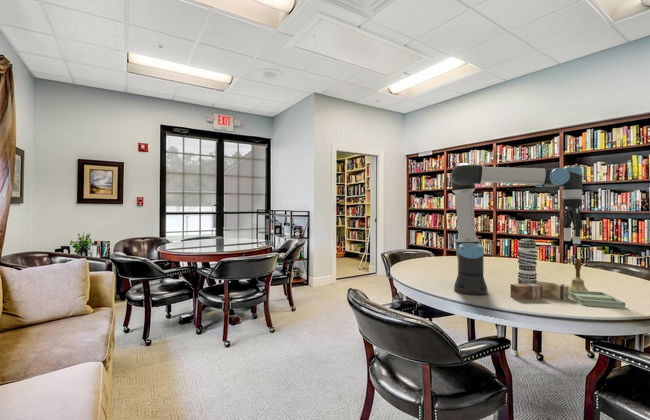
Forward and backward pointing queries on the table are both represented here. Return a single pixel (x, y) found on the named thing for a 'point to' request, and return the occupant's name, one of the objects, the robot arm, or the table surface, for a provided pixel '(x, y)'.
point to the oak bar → (554, 290)
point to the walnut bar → (526, 291)
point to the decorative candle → (527, 261)
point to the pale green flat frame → (595, 299)
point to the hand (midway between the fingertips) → (571, 242)
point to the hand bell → (577, 279)
